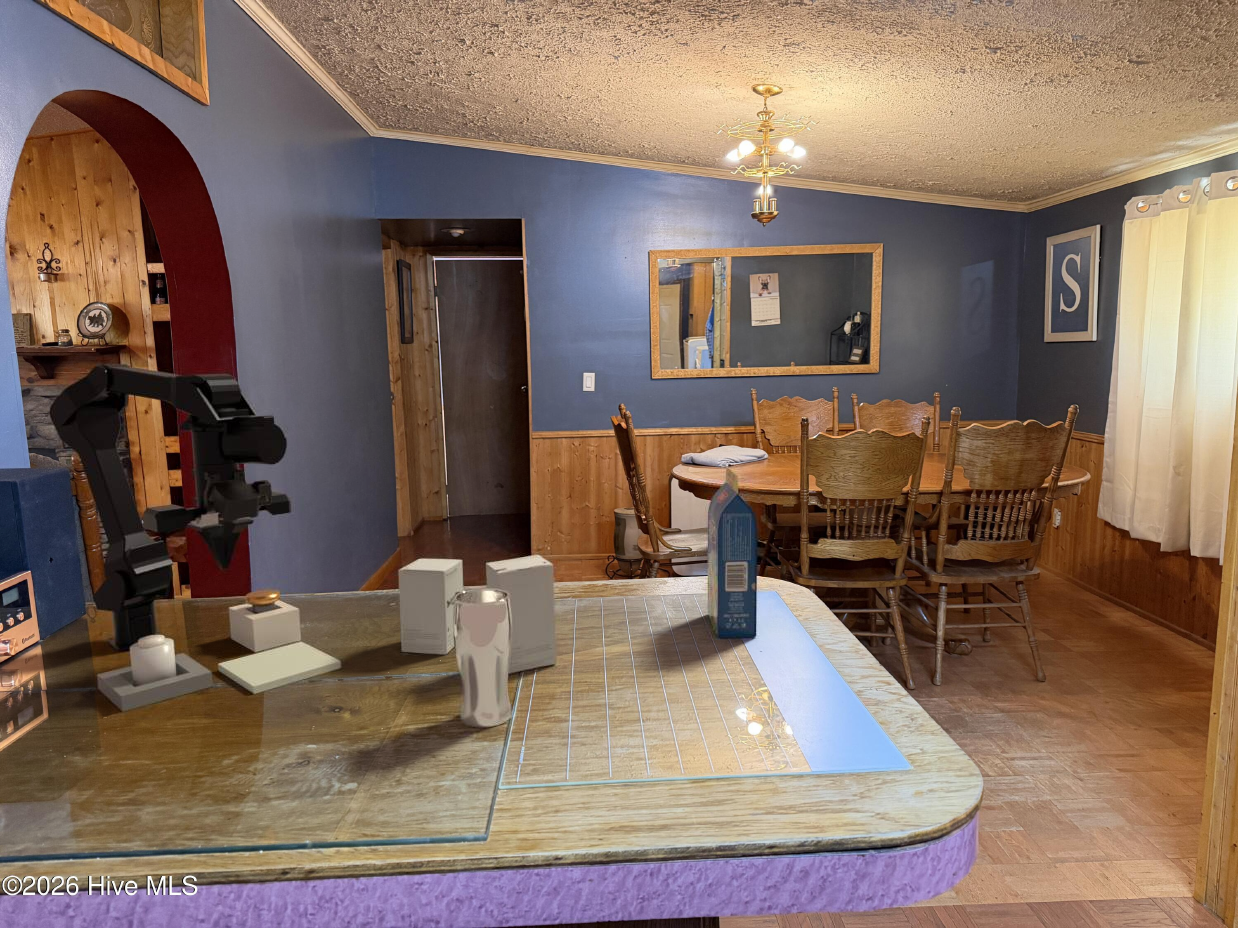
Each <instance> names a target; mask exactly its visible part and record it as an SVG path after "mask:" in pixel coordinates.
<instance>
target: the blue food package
mask: <svg viewBox="0 0 1238 928" xmlns="http://www.w3.org/2000/svg"><path fill="white" fill-rule="evenodd" d="M707 511H708V512H707V614H708V619H709V621H710V622H711V626H712V628H713V631H714V634H716V636H717V638H755V637H757V607H758V606H757V605H758V604H757V602H758V601H757V599H758V598H757V596H758V591H757V590H758V584H757V583H758V523H757V519H756V516H755V512H754V510H753V509H752V508H751V506H750V505H749V504H748V503H747V502H746V501H745V499H744V498H743V497H742V496H741V495H740V494H739V475H737V474H736V473H735V472H734V471H733V470H732V469H731V468H729V467H728V466H727V465H725V482H724V483H723V484H722V485H721V487H720V488H719V489H718V490H717V491H716V492H715V493H714V495H713V496H712V498H711V499H710V502H709V505H708V510H707Z"/></svg>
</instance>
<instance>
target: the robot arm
mask: <svg viewBox="0 0 1238 928" xmlns="http://www.w3.org/2000/svg"><path fill="white" fill-rule="evenodd" d="M105 392H108V393H105ZM129 396H135V397H140V398H145V399H152V400H158V401H162V402H167V403H169V404H171V405H172V406H173V408H174V409H175V410H178V411H180V412H183V413H185V414H188V418H187V419H186V420H185V421H183V422H182V423H181V424H180V425H179V426H178V430H180V431H181V432H191V442H192V455H193V456H192V458H193V468H194V469H191V470H190V473H191V477H192V478H194V480H195V481H194V482H195V494H196V497H193V498H192V499H193V505H194V506H196V507H189V508H186V507H185V506H180V505H176V504H166V505H159V506H157V505H156V506H152V507H146V509H145V510H144V511H143V514H142V519H141V516H140V515H141V514H140V513H139V509H138V507H137V504H136V502H135V499H134V495H133V492H132V489H131V486H130V484H129V480H128V477H127V475H126V472H125V468H124V467H123V463H122V460H121V457H120V453H119V451H118V448H117V442H118V440H119V436H120V432H121V430H122V423H121V419H120V418H121V417H120V415H121V414H122V412H123V411H125V410H126V408H127V407H128V406H129V402H130V401H129V398H130V397H129ZM49 419H51V422H52V424H53V426H54V429H55V430H56V433H57V434H58V436H59V439H60V440H61V441H62V442H63V443H64V444H66V445H67V446H68V447H70V448H71V449H72V450H73V451H74V452H75V453H76V454H78V457H79V459H80V462H81V465H82V468H83V469H82V470H83V471H84V474H85V477H86V479H87V482H88V486H89V488H90V491H91V495H92V498H93V501H94V504H95V507H96V509H97V512H98V515H99V518H100V519H99V520H100V521H101V524H102V527H103V530H104V533H105V536H106V538H107V539H106V540H107V542H108V548H107V551H106V554H105V558H104V561H103V569H104V570H103V571H104V574H105V580H104V581H103V582H102V584H100V586H99V588H98V589H97V590H96V592H95V593H94V594H93V596H92V598H93V601H94V603H95V607H96V609H97V611H106V612H111V615H112V616H111V617H112V624H113V627H112V628H113V636H114V637H109V638H107V639H106V640H107V643H108V644H109V645H110V646H112V647H113V648H114V649H115V650H117V651H118V652H123V651H126V650H127V651H128V650H130V647H131V646H132V645H133V644H135V643H138V640H139V639H140V638H143V637H146V636H150V635H162V634H161V633H160V632H158V626H157V625H158V624H157V615H156V614H157V613H156V603H155V602H156V600H159V599H162V598H163V599H164V598H167V597H168V595H169V592H170V591H169V590H170V587H171V581H172V579H173V578H174V577H173V575H174V574H173V573H174V571H173V568H172V566H173V565H174V562H173V561H172V559H171V557H170V555H169V552H168V546H167V544H166V542H164V540H162V539H161V540H158V541H155V540H154V539H153V538H151V536H149V535H148V534H147V533H146V531H145V529H146V530H149V531H152V532H156V533H168V532H174V531H180V530H184V529H186V528H189V529H192V530H194V531H195V530H196V531H197V533H198V534H199V535H200V537H201V538H202V539H203V540H204V542H205V544H206V546H207V547H208V549H209V551H210V552H211V555H212V557H213V558H214V560H215V562H216V564H217V566H218V567H219V569H220V570H221V571H225V570H229V568H230V566H231V562H232V559H233V556H234V553H235V549H236V546H237V543H238V540H239V538H240V536H241V534H242V532H243V531H244V530H245V528H247V526H249V525H253V524H254V521H255V520H253V518H257V517H258V516H259V515H260V514H259V512H262V511H266V512H267V513H268V514H269V515H270V516H276V515H283V514H290V513H292V501H291V499H290V497H289V496H288V495H287V494H286V493H283V492H282V493H281V492H276V491H272V484H271V482H270V481H268V480H267V479H263V480H256V481H253V482H250V483H247V482H246V481H247V480H246V479H245V473H244V469H242V468H240V466H239V464H244V465H245V464H246V465H247V464H248V465H271V466H272V465H276V464H278V463H280V461H282V460H283V459H284V457H285V454H286V451H287V447H288V445H287V444H288V440H287V437H286V436H285V434H284V431H283V429H281V427H280V426H279V425H277V424H275V417H274V416H273V414H272V415H271V414H268V415H259V414H258V412H257V411H256V410H255V407H253V404H251V402H250V401H249V398H248V397H247V396H246V394H245V392H243V390H242V388H241V386H240V385H239V383H238V381H237V377H235V376H233V375H232V374H229V373H214V374H212V373H211V374H210V373H208V374H183V375H182V374H181V375H180V374H176V373H169V372H164V371H159V370H152V369H146V368H139V367H135V366H130V365H128V364H125V363H121V364H120V363H119V364H118V363H115V364H114V363H112V364H111V363H110V364H108V363H107V364H99V365H97V366H94V367H93V368H92V369H91V370H90V371H89V372H88V373H87V375H85V376H84V377H82V378H81V379H79V380H77V381H75V382H74V383H72V384H71V385H69V386H67V387H66V388H64V389H63V391H61V393H60V394H59V395H58V396H57V397H55V399H54V401H53V402H52V404H51V405H50V407H49ZM163 636H164V638H167V637H166V636H165V635H163Z"/></svg>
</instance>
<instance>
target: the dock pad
mask: <svg viewBox="0 0 1238 928" xmlns="http://www.w3.org/2000/svg"><path fill="white" fill-rule="evenodd" d="M341 662H342V661H341V660H339V659H338V658H335V657H333V656H331V655H329V654H327V653H326V652H324V651H321V650H319V649H317V648H315V647H313V646H312V645H309V644H308V643H305V642H303V641H297V642H293V643H290V644H289V645H288V644H286V645H282V646H278V647H275V648H271V649H267V650H263V651H260V652H256V653H254V654H250V655H246V656H241V657H239V658H235V659H231V660H227V661H223V662H220V663H218V664H217V667H218V672H220V673H222V674H223V675H225V677H228V678H229V679H231V680H232V681H234V682H235V683H237V684H238V685H240V686H241V687H243V688H245V689H246V690H247V691H249V692H250V693H252V694H253V695H254V694H258V693H262V692H265V691H268V690H272V689H275V688H278V687H283V686H285V685H289V684H292V683H296V682H298V681H302V680H305V679H309V678H312V677H316V676H319V675H323V674H326V673H329V672H333V671H336V670H339V669H341V668H342V663H341Z"/></svg>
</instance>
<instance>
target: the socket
mask: <svg viewBox="0 0 1238 928" xmlns="http://www.w3.org/2000/svg"><path fill="white" fill-rule="evenodd" d="M175 665H176V676H175V677H171V678H167V679H164V680H160V681H156V682H152V683H149V684H145V685H141V686H137V687H134V686H133V677H132V666H131V665H130V666H126V667H122V668H117V669H114V670H110V671H109V670H108V671H107V672H101V673H98V674H96V677H97V687H98V688H97V689H98V690H99V691H100V692H101V693H102V694H103V695H104V696H105V697H106V698H107V699H109V701H111V702H112V703H113V704H114V705H115V706H116V707H117V708H118V709H119V710H120V711H122V712H127V711H131V710H134V709H138V708H141V707H145V706H149V705H153V704H156V703H159V702H162V701H166V700H170V699H174V698H176V697H180V696H184V695H187V694H190V693H191V694H192V693H194V692H198V691H202V690H204V689H205V690H206V689H207V688H208V689H209V688H212V687H214V686H213V685H214V683H213V682H214V681H213V674H212V673H213V672H212V671H211V670H209V669H208V668H207V667H205V666H203V665H202V664H200V663H199V662H197V661H196V660H194V658H191V657H190V656H189V655H187V654H185V653H183V652H182V653H177V654H175Z"/></svg>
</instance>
